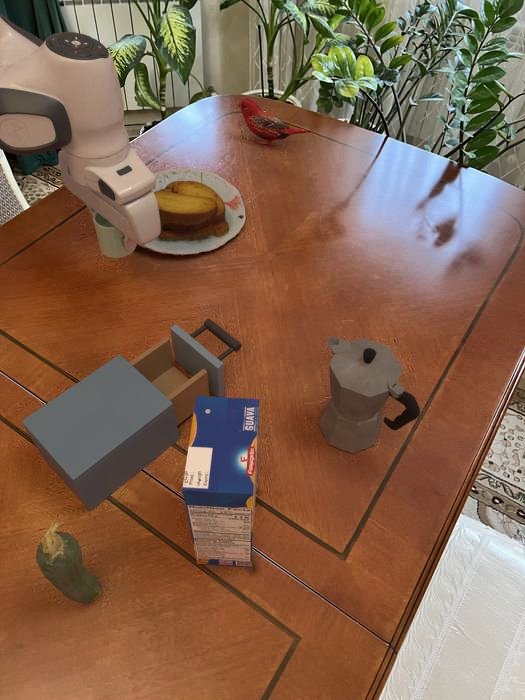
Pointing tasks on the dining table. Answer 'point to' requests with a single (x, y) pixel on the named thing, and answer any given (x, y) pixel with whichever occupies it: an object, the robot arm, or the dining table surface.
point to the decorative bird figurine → (265, 123)
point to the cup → (109, 238)
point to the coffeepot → (362, 394)
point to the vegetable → (66, 566)
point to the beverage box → (222, 479)
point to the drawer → (186, 367)
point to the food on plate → (195, 211)
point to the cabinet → (103, 430)
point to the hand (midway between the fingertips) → (116, 235)
